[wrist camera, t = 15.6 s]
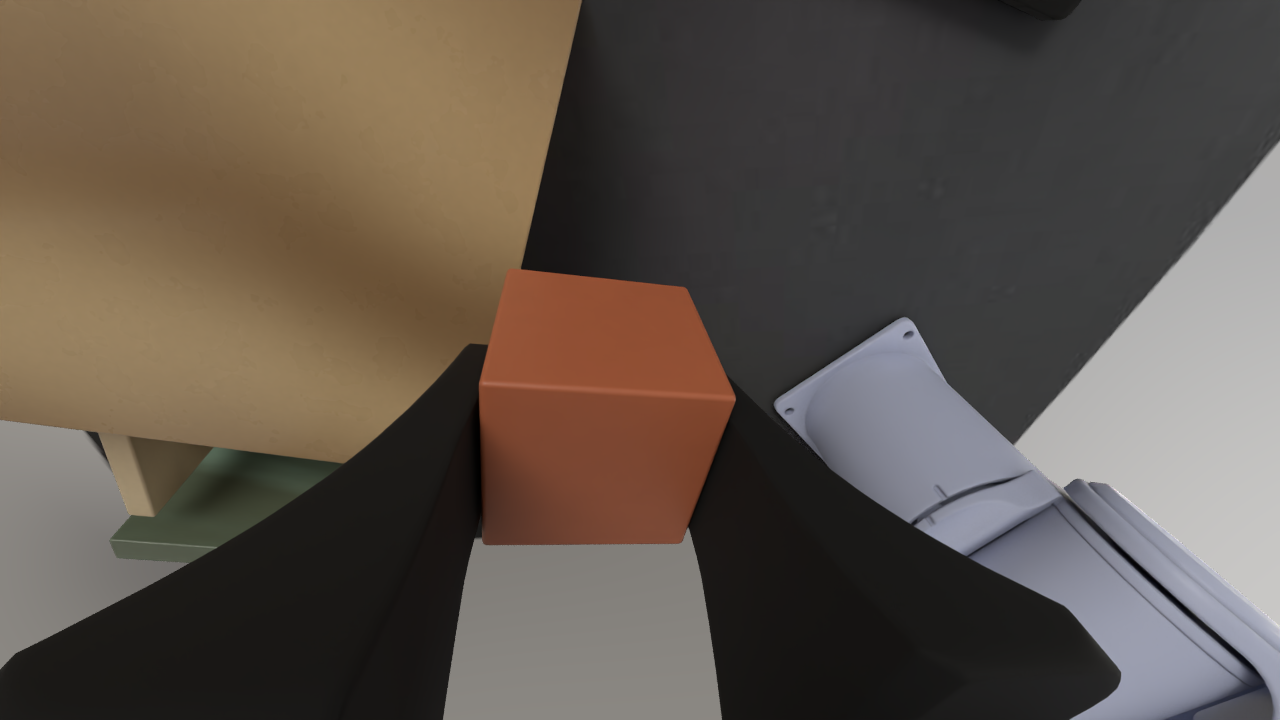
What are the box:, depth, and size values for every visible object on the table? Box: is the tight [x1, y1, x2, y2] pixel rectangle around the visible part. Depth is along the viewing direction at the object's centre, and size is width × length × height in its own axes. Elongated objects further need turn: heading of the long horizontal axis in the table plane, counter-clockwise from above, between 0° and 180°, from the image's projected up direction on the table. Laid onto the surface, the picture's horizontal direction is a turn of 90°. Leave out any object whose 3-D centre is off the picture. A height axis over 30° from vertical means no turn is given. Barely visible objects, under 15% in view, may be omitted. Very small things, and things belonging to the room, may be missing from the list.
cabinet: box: [0, 0, 582, 463], centre depth 14 cm, size 15×13×7 cm
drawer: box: [98, 432, 344, 563], centre depth 19 cm, size 18×11×5 cm, turn 160°
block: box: [479, 268, 736, 545], centre depth 10 cm, size 4×4×4 cm
